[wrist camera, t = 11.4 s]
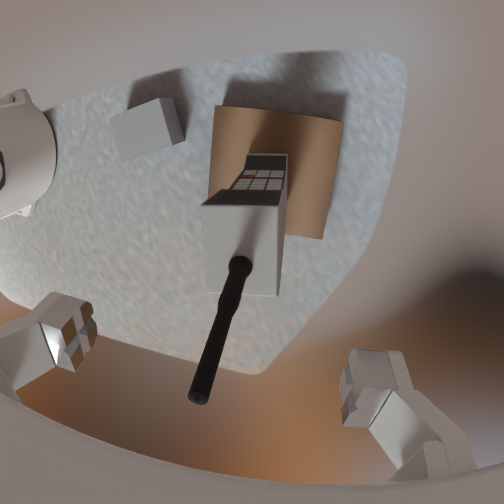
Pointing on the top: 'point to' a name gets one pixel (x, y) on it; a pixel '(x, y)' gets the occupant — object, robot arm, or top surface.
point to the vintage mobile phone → (241, 250)
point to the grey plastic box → (146, 128)
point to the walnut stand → (284, 142)
